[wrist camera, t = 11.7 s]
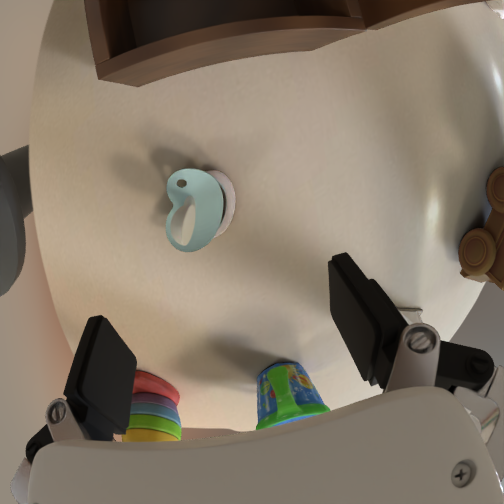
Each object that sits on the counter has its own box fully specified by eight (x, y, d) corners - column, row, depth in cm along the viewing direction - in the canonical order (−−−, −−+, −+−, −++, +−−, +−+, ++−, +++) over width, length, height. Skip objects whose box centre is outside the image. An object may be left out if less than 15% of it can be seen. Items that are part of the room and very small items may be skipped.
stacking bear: (134, 366, 34) (124, 483, 19) (193, 388, 38) (201, 494, 23) (112, 392, 37) (102, 487, 22) (163, 411, 41) (165, 499, 26)
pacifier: (239, 165, 23) (169, 161, 21) (253, 187, 17) (159, 181, 16) (229, 240, 26) (167, 238, 25) (239, 279, 21) (160, 278, 20)
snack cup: (237, 352, 35) (248, 419, 26) (313, 334, 35) (339, 396, 27) (254, 402, 43) (264, 452, 34) (311, 388, 44) (328, 436, 35)
